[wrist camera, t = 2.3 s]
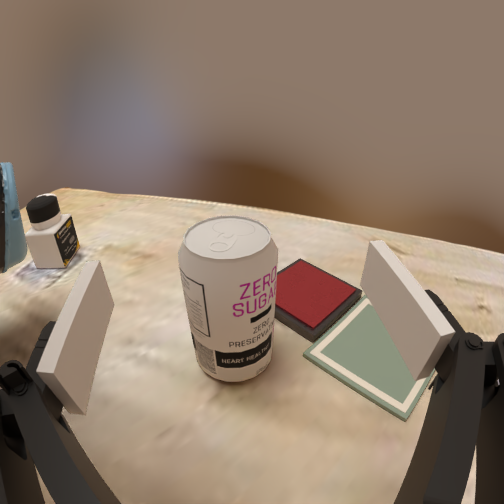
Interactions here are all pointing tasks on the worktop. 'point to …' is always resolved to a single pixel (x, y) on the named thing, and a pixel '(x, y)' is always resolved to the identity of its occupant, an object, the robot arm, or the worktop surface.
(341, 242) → the worktop surface
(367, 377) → the mat
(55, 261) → the medicine bottle
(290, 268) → the ink pad
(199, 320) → the supplement can
